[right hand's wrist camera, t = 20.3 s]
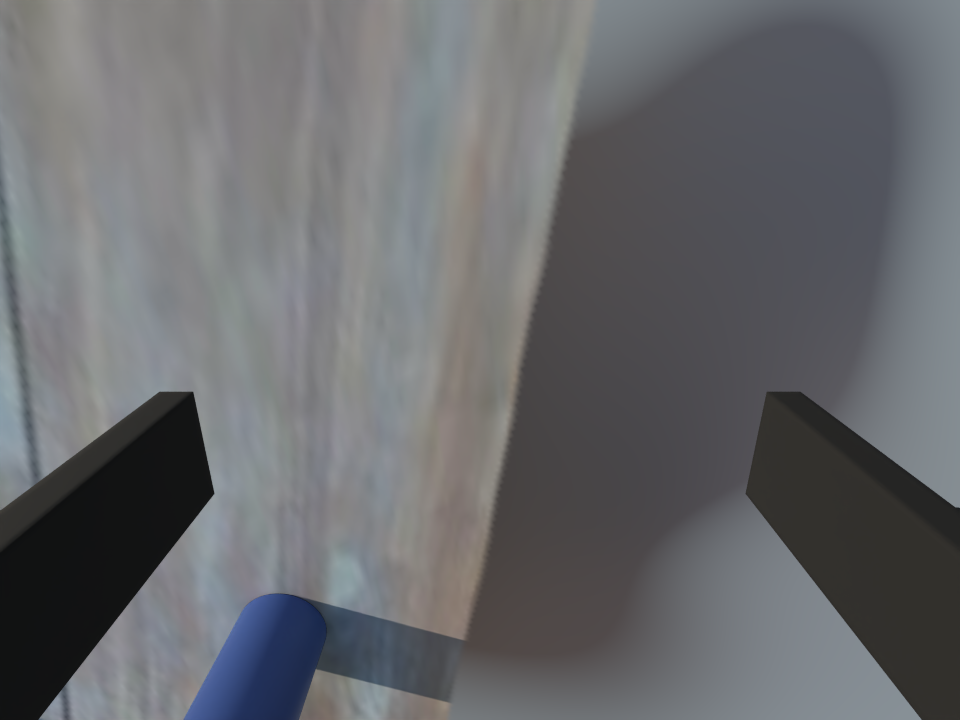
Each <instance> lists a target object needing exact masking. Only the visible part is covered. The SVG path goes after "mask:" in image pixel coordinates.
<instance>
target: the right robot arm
mask: <svg viewBox="0 0 960 720" xmlns="http://www.w3.org/2000/svg"><path fill="white" fill-rule="evenodd" d="M213 495H214V490H213V485H212V480H211V475H210V470H209V466H208V461H207V456H206V451H205V446H204V441H203V437H202V432H201V427H200V422H199V417H198V413H197V408H196V403H195V398H194V393H193V392H159V393H157V394H156V395H155V396H153V397H152V398H151V399H149V400H148V401H147V402H145V403H144V404H143V405H141V406H140V407H139V408H137V409H136V410H135V411H133V412H132V413H131V414H129V415H128V416H127V417H125V418H124V419H123V420H121V421H120V422H119V423H117V424H116V425H115V426H113V427H112V428H111V429H109V430H108V431H106V432H105V433H104V434H102V435H101V436H100V437H98V438H97V439H96V440H94V441H93V442H92V443H90V444H89V445H88V446H86V447H85V448H84V449H82V450H81V451H80V452H78V453H77V454H76V455H74V456H73V457H72V458H70V459H69V460H68V461H66V462H65V463H64V464H62V465H61V466H60V467H58V468H57V469H56V470H54V471H53V472H52V473H50V474H49V475H48V476H46V477H45V478H43V479H42V480H41V481H39V482H38V483H37V484H35V485H34V486H33V487H31V488H30V489H29V490H27V491H26V492H25V493H23V494H22V495H21V496H19V497H18V498H17V499H15V500H14V501H13V502H11V503H10V504H9V505H7V506H6V507H5V508H3V509H2V510H0V720H38V719H39V718H40V717H41V715H42V714H43V713H44V712H45V710H46V709H47V708H48V706H49V705H50V704H51V703H52V701H53V700H54V699H55V697H56V696H57V695H58V694H59V692H60V691H61V690H62V689H63V687H64V686H65V685H66V683H67V682H68V681H69V680H70V678H71V677H72V676H73V674H74V673H75V672H76V671H77V669H78V668H79V667H80V665H81V664H82V663H83V662H84V660H85V659H86V658H87V656H88V655H89V654H90V653H91V651H92V650H93V649H94V647H95V646H96V645H97V644H98V642H99V641H100V640H101V638H102V637H103V636H104V635H105V633H106V632H107V631H108V629H109V628H110V627H111V626H112V624H113V623H114V622H115V621H116V619H117V618H118V617H119V615H120V614H121V613H122V612H123V610H124V609H125V608H126V606H127V605H128V604H129V603H130V601H131V600H132V599H133V597H134V596H135V595H136V594H137V592H138V591H139V590H140V588H141V587H142V586H143V585H144V583H145V582H146V581H147V579H148V578H149V577H150V576H151V574H152V573H153V572H154V570H155V569H156V568H157V567H158V565H159V564H160V563H161V561H162V560H163V559H164V558H165V556H166V555H167V554H168V552H169V551H170V550H171V549H172V547H173V546H174V545H175V544H176V542H177V541H178V540H179V538H180V537H181V536H182V535H183V533H184V532H185V531H186V529H187V528H188V527H189V526H190V524H191V523H192V522H193V520H194V519H195V518H196V517H197V515H198V514H199V513H200V511H201V510H202V509H203V508H204V506H205V505H206V504H207V502H208V501H209V500H210V499H211V497H212V496H213ZM746 495H747V496H748V497H749V499H750V500H751V501H752V502H753V504H754V505H755V506H756V508H757V509H758V510H759V511H760V513H761V514H762V515H763V517H764V518H765V519H766V520H767V522H768V523H769V524H770V526H771V527H772V528H773V529H774V531H775V532H776V533H777V535H778V536H779V537H780V538H781V540H782V541H783V542H784V544H785V545H786V546H787V547H788V549H789V550H790V551H791V552H792V554H793V555H794V556H795V558H796V559H797V560H798V561H799V563H800V564H801V565H802V567H803V568H804V569H805V570H806V572H807V573H808V574H809V576H810V577H811V578H812V579H813V581H814V582H815V583H816V585H817V586H818V587H819V588H820V590H821V591H822V592H823V594H824V595H825V596H826V597H827V599H828V600H829V601H830V603H831V604H832V605H833V606H834V608H835V609H836V610H837V612H838V613H839V614H840V615H841V617H842V618H843V619H844V621H845V622H846V623H847V624H848V626H849V627H850V628H851V629H852V631H853V632H854V633H855V635H856V636H857V637H858V638H859V640H860V641H861V642H862V644H863V645H864V646H865V647H866V649H867V650H868V651H869V653H870V654H871V655H872V656H873V658H874V659H875V660H876V662H877V663H878V664H879V665H880V667H881V668H882V669H883V671H884V672H885V673H886V674H887V676H888V677H889V678H890V679H891V681H892V682H893V683H894V685H895V686H896V687H897V689H898V690H899V691H900V692H901V694H902V695H903V696H904V697H905V699H906V700H907V701H908V703H909V704H910V705H911V706H912V708H913V709H914V710H915V712H916V713H917V714H918V715H919V717H920V718H921V719H922V720H960V508H955V507H954V506H953V505H951V504H950V503H949V502H947V501H946V500H945V499H943V498H942V497H941V496H939V495H938V494H937V493H935V492H934V491H933V490H931V489H930V488H929V487H927V486H926V485H925V484H923V483H922V482H921V481H919V480H918V479H917V478H915V477H914V476H912V475H911V474H910V473H908V472H907V471H906V470H904V469H903V468H902V467H900V466H899V465H898V464H896V463H895V462H894V461H892V460H891V459H890V458H888V457H887V456H886V455H884V454H883V453H882V452H880V451H879V450H878V449H876V448H875V447H874V446H872V445H871V444H870V443H868V442H867V441H866V440H864V439H863V438H861V437H860V436H859V435H858V434H856V433H855V432H854V431H852V430H851V429H849V428H848V427H847V426H845V425H844V424H843V423H841V422H840V421H839V420H837V419H836V418H835V417H833V416H832V415H831V414H829V413H828V412H827V411H825V410H824V409H823V408H821V407H820V406H819V405H817V404H816V403H815V402H813V401H812V400H811V399H809V398H808V397H807V396H805V395H804V394H802V393H801V392H767V394H766V398H765V403H764V408H763V413H762V417H761V422H760V427H759V432H758V437H757V441H756V446H755V451H754V456H753V461H752V466H751V470H750V475H749V480H748V485H747V490H746Z"/></svg>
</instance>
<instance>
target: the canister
mask: <svg viewBox="0 0 960 720" xmlns="http://www.w3.org/2000/svg"><path fill="white" fill-rule="evenodd" d="M326 633H327V631H326V625H325V622H324V619H323V617H322V616H321V614H320V613H319V612H318V610H317V609H316V608H315V607H313V606H312V605H311V604H310V603H308V602H306V601H305V600H303V599H300V598H298V597H295V596H291V595H287V594H269V595H264V596H261V597H259V598H256V599H254V600H253V601H251V602H250V603H249V604H248V605H247V606H246V607H245V608H244V609H243V611H242V613H241V615H240V616H239V618H238V620H237V622H236V624H235V626H234V627H233V629H232V631H231V633H230V635H229V637H228V638H227V640H226V642H225V644H224V646H223V648H222V650H221V651H220V653H219V655H218V657H217V659H216V661H215V662H214V664H213V666H212V668H211V670H210V672H209V674H208V675H207V677H206V679H205V681H204V683H203V685H202V686H201V688H200V690H199V692H198V694H197V696H196V698H195V699H194V701H193V703H192V705H191V707H190V709H189V710H188V712H187V714H186V716H185V718H184V720H299V717H300V714H301V711H302V708H303V705H304V702H305V699H306V696H307V693H308V690H309V687H310V684H311V681H312V678H313V675H314V672H315V669H316V666H317V663H318V660H319V657H320V654H321V651H322V648H323V645H324V642H325V639H326Z"/></svg>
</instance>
